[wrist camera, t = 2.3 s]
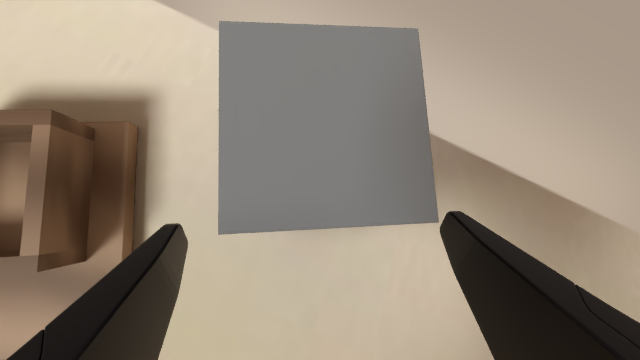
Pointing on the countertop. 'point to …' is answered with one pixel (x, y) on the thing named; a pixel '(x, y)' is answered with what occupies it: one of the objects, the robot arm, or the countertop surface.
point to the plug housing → (322, 128)
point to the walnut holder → (59, 214)
